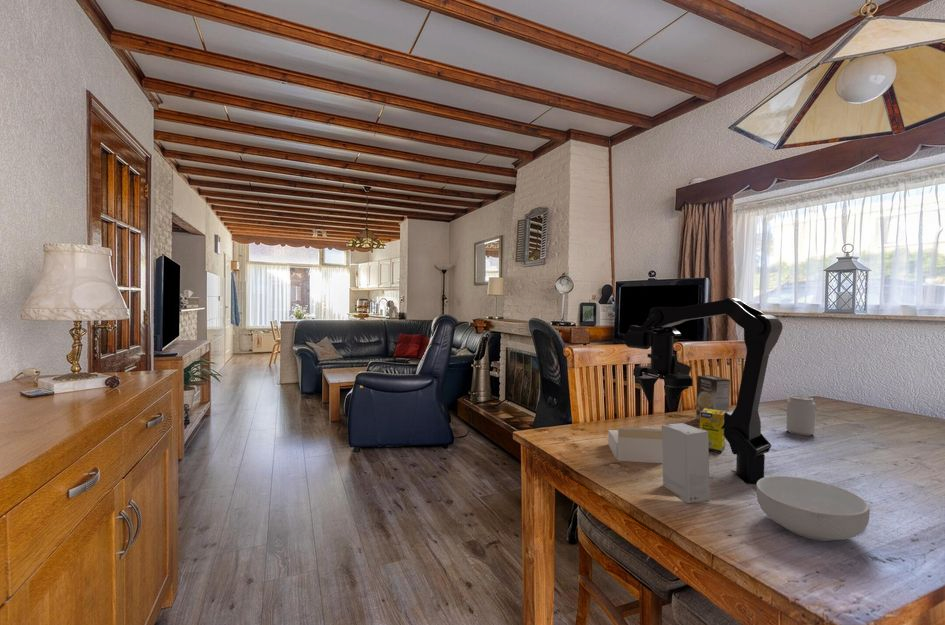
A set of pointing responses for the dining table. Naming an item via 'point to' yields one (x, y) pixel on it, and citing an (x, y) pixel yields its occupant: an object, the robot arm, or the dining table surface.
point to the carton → (613, 441)
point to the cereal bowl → (812, 508)
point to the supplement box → (713, 428)
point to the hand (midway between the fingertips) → (660, 406)
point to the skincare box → (686, 462)
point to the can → (801, 415)
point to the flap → (640, 445)
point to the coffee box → (712, 394)
